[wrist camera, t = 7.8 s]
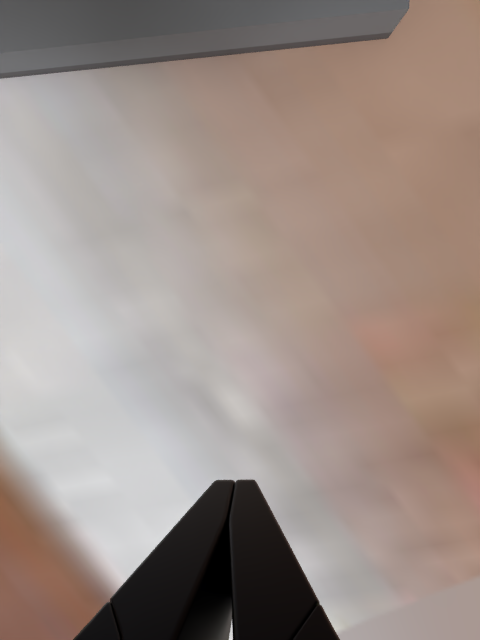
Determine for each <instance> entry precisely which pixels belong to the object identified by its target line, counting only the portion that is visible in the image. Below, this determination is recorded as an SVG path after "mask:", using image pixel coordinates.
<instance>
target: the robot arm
mask: <svg viewBox="0 0 480 640" xmlns="http://www.w3.org/2000/svg"><path fill="white" fill-rule="evenodd" d="M231 621H232V625H233V640H340V639H339V637H338V635H337V634H336V632H335V630H334V628H333V627H332V625H331V623H330V621H329V619H328V617H327V615H326V613H325V611H324V609H323V608H322V606H321V605H320V604H319V600H318V599H317V597H316V595H315V593H314V591H313V589H312V587H311V585H310V583H309V581H308V580H307V578H306V576H305V574H304V572H303V570H302V568H301V566H300V564H299V562H298V560H297V559H296V557H295V555H294V553H293V551H292V549H291V547H290V545H289V543H288V541H287V539H286V538H285V536H284V534H283V532H282V530H281V528H280V526H279V524H278V522H277V520H276V519H275V517H274V515H273V513H272V511H271V509H270V507H269V505H268V503H267V501H266V499H265V498H264V496H263V494H262V492H261V490H260V488H259V486H258V484H257V482H256V481H255V480H237V481H236V482H234V481H233V480H216V481H214V482H213V483H212V485H211V486H210V487H209V488H208V489H207V490H206V491H205V492H204V494H203V495H202V496H201V497H200V498H199V499H198V500H197V501H196V503H195V504H194V505H193V506H192V507H191V508H190V509H189V510H188V512H187V513H186V514H185V515H184V516H183V517H182V518H181V519H180V521H179V522H178V523H177V524H176V525H175V526H174V527H173V529H172V530H171V531H170V532H169V533H168V534H167V535H166V536H165V538H164V539H163V540H162V541H161V542H160V543H159V544H158V545H157V547H156V548H155V549H154V550H153V551H152V552H151V553H150V554H149V556H148V557H147V558H146V559H145V560H144V561H143V562H142V563H141V565H140V566H139V567H138V568H137V569H136V570H135V571H134V573H133V574H132V575H131V576H130V577H129V578H128V579H127V580H126V582H125V583H124V584H123V585H122V586H121V587H120V588H119V589H118V591H117V592H116V593H115V594H114V595H113V596H112V597H111V599H110V602H107V603H106V604H105V605H104V606H103V607H102V608H101V609H100V611H99V612H98V613H97V614H96V615H95V616H94V617H93V619H92V620H91V621H90V622H89V623H88V624H87V625H86V626H85V627H84V628H83V629H82V630H81V631H80V633H79V634H78V635H77V636H76V637H75V638H74V639H73V640H229V633H230V627H231Z"/></svg>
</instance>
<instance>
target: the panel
mask: <svg viewBox="0 0 480 640" xmlns="http://www.w3.org/2000/svg"><path fill="white" fill-rule="evenodd" d="M408 9H409V0H0V78H10V77H20V76H29V75H39V74H48V73H58V72H68V71H77V70H87V69H97V68H106V67H116V66H126V65H135V64H145V63H155V62H164V61H174V60H184V59H193V58H203V57H212V56H222V55H232V54H241V53H251V52H261V51H270V50H280V49H290V48H299V47H309V46H319V45H328V44H338V43H348V42H357V41H367V40H376V39H386V38H388V37H389V36H390V34H391V33H392V32H393V30H394V29H395V27H396V26H397V25H398V23H399V22H400V20H401V19H402V18H403V16H404V15H405V13H406V12H407V11H408Z"/></svg>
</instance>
